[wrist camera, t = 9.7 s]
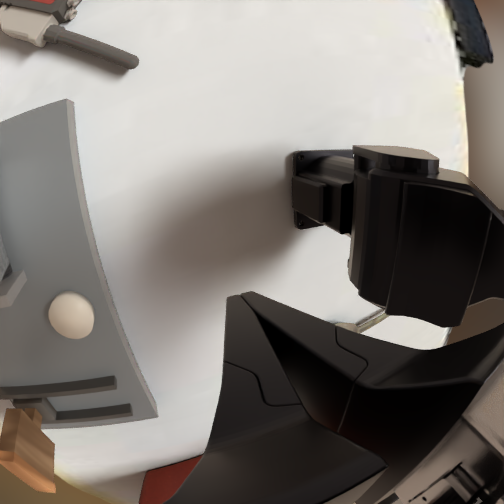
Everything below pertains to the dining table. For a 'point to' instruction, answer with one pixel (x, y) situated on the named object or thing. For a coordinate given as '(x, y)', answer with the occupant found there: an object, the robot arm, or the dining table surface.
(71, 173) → the control panel
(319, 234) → the dining table surface
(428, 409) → the robot arm
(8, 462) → the walnut slider lever
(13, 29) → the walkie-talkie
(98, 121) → the dining table surface
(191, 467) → the plant pot
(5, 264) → the light grey piece
